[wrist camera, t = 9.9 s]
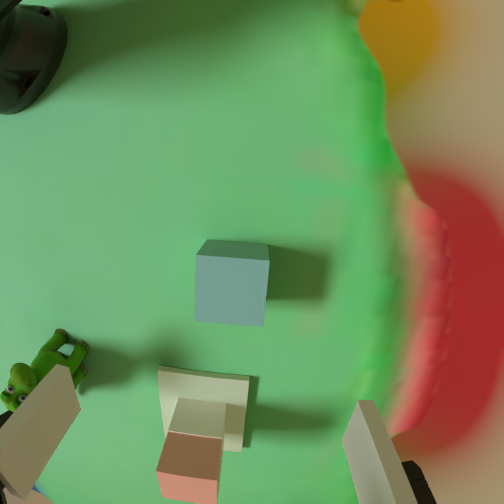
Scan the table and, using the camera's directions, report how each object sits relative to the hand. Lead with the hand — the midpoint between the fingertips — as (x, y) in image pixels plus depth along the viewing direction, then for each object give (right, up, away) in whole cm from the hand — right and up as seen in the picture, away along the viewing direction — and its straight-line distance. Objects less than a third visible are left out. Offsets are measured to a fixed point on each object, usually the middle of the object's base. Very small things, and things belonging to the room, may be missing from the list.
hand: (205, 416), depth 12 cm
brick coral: (-4, -16, +18) cm, 24 cm away
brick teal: (0, +5, +20) cm, 20 cm away
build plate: (-4, -14, +25) cm, 29 cm away
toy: (-23, -7, +23) cm, 34 cm away
